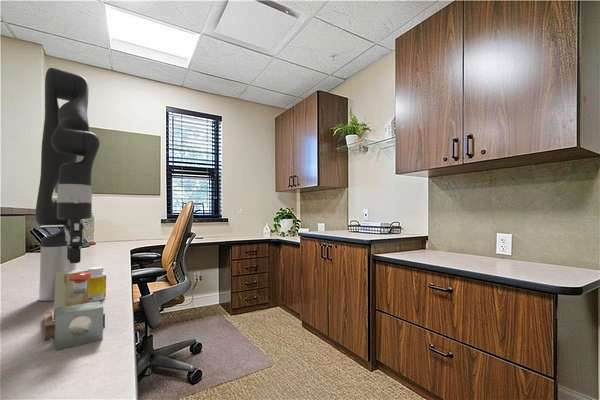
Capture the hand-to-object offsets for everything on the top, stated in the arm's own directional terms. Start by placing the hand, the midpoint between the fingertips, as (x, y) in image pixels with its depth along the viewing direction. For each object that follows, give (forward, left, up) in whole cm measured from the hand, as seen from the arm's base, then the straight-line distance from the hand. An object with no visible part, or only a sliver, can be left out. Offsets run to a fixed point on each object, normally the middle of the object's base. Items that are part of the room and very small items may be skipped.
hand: (73, 261), depth 78 cm
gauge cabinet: (+19, 0, -15) cm, 24 cm away
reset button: (+19, 0, -5) cm, 20 cm away
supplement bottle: (-15, +7, -15) cm, 22 cm away
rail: (+5, 0, -15) cm, 16 cm away
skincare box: (0, 0, -15) cm, 15 cm away
